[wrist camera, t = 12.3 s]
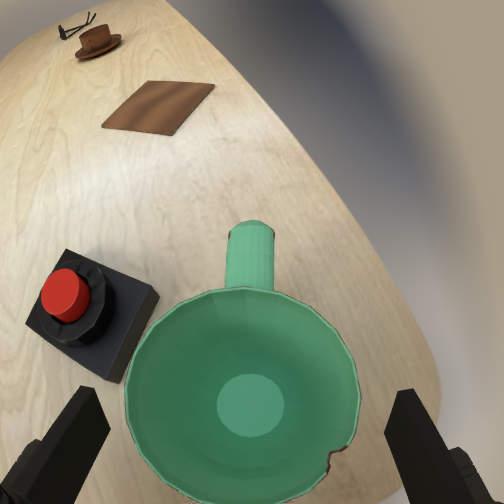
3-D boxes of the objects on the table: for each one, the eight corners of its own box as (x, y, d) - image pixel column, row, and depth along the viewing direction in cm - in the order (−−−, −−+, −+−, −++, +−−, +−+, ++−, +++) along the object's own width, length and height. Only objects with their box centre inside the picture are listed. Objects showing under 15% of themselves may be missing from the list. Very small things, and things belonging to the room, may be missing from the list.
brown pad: (214, 86, 40) (214, 84, 39) (171, 136, 34) (170, 132, 34) (148, 82, 42) (147, 80, 42) (101, 127, 37) (100, 125, 36)
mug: (318, 469, 17) (358, 506, 8) (178, 463, 18) (117, 490, 9) (317, 280, 24) (342, 200, 16) (194, 278, 25) (159, 200, 16)
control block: (160, 296, 24) (143, 274, 21) (118, 384, 21) (93, 376, 17) (76, 259, 26) (55, 237, 23) (38, 331, 23) (12, 316, 19)
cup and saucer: (124, 48, 53) (117, 26, 48) (75, 68, 51) (67, 47, 46) (122, 36, 59) (116, 17, 53) (79, 53, 57) (72, 35, 52)
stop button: (98, 288, 21) (87, 277, 19) (76, 330, 19) (63, 322, 18) (67, 272, 21) (56, 262, 20) (46, 310, 20) (34, 302, 18)
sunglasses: (101, 23, 72) (97, 12, 68) (62, 42, 69) (58, 30, 64) (93, 19, 79) (90, 9, 75) (59, 35, 76) (55, 25, 71)
